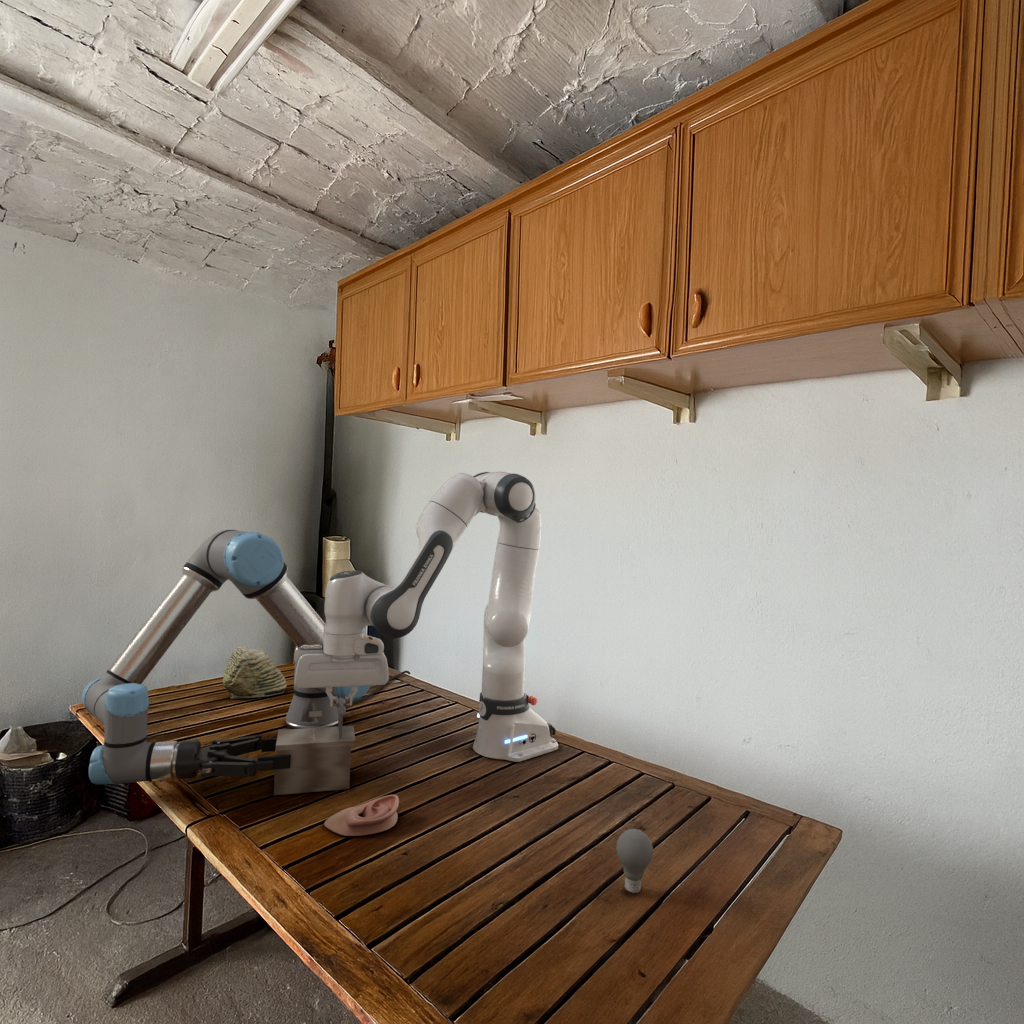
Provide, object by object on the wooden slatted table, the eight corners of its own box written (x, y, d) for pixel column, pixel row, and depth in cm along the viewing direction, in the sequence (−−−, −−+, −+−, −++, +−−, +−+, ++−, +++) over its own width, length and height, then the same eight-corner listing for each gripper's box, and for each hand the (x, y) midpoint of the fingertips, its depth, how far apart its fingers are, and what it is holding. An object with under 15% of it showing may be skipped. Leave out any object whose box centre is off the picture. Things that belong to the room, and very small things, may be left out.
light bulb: (610, 879, 108) (613, 822, 108) (644, 879, 109) (647, 822, 109) (619, 902, 102) (622, 840, 102) (655, 901, 103) (658, 840, 103)
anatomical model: (316, 810, 120) (344, 784, 131) (316, 831, 120) (344, 803, 131) (382, 821, 117) (405, 793, 128) (381, 842, 117) (404, 812, 128)
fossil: (218, 695, 195) (220, 647, 195) (278, 685, 208) (279, 640, 207) (228, 703, 189) (230, 653, 188) (289, 692, 201) (290, 645, 201)
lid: (353, 730, 147) (354, 695, 147) (355, 745, 138) (356, 707, 138) (278, 734, 142) (279, 698, 142) (275, 750, 133) (277, 711, 133)
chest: (347, 771, 147) (349, 730, 146) (349, 789, 138) (351, 746, 138) (276, 776, 142) (278, 735, 142) (273, 795, 133) (275, 751, 133)
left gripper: (187, 756, 143) (293, 749, 149) (164, 802, 122) (288, 791, 128) (188, 723, 142) (294, 717, 149) (166, 763, 122) (289, 754, 128)
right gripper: (293, 648, 135) (291, 712, 135) (390, 646, 141) (388, 707, 141) (294, 641, 141) (292, 703, 141) (387, 639, 147) (385, 698, 147)
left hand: (291, 752), depth 139 cm, fingers closed on chest, 9 cm apart
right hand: (341, 705), depth 141 cm, fingers closed on lid, 2 cm apart
